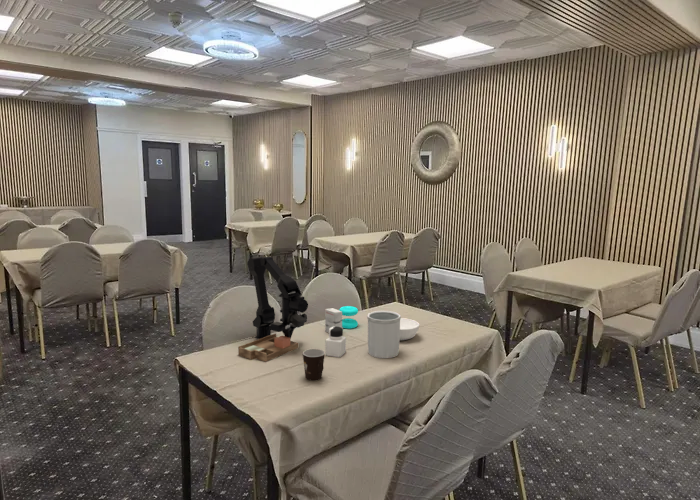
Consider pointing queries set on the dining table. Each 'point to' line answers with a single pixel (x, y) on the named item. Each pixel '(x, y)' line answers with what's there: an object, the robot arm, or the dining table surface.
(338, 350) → the medicine bottle
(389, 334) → the utensil holder
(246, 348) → the brown compartment tray
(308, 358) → the coffee mug
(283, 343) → the block
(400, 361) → the dining table surface
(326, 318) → the ink box
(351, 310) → the donuts
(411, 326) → the bowl
